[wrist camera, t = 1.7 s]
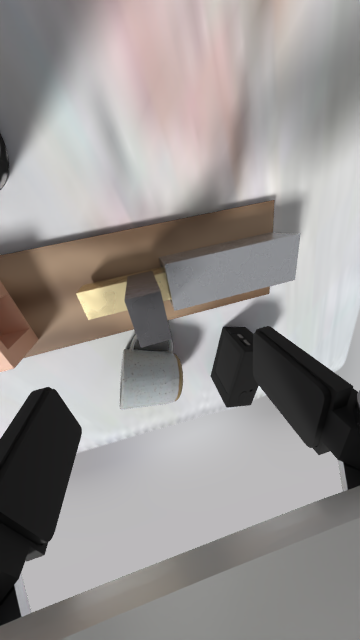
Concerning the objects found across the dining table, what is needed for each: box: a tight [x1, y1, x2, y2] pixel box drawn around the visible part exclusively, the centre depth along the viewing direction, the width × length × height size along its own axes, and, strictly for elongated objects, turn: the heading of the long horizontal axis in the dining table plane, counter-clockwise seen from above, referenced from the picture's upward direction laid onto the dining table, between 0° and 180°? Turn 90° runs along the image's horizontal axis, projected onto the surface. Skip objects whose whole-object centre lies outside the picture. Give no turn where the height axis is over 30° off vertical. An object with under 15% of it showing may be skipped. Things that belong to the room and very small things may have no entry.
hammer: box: [76, 267, 172, 348], centre depth 18 cm, size 4×22×10 cm, turn 101°
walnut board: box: [0, 200, 274, 358], centre depth 23 cm, size 12×37×1 cm, turn 101°
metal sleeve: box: [159, 232, 300, 311], centre depth 22 cm, size 5×15×5 cm, turn 101°
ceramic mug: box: [120, 334, 183, 410], centre depth 26 cm, size 11×8×8 cm
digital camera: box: [211, 327, 259, 407], centre depth 30 cm, size 10×5×7 cm, turn 173°
